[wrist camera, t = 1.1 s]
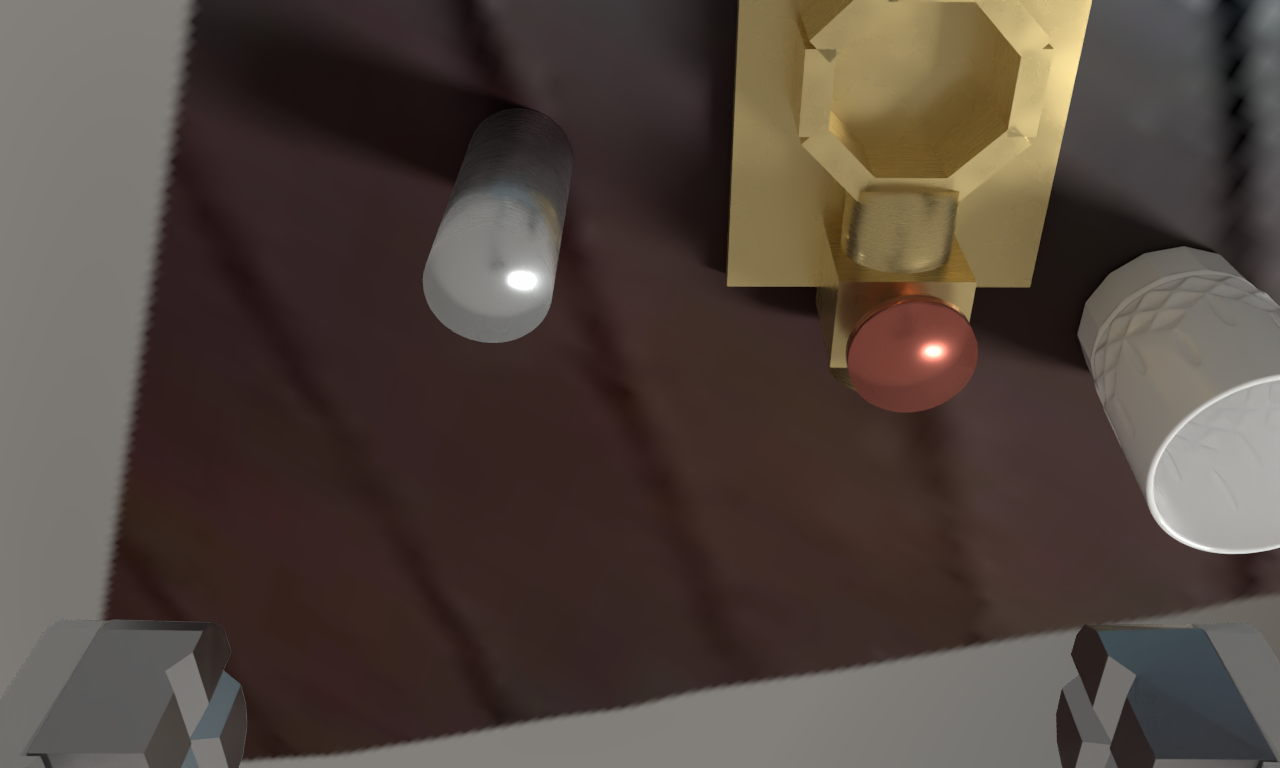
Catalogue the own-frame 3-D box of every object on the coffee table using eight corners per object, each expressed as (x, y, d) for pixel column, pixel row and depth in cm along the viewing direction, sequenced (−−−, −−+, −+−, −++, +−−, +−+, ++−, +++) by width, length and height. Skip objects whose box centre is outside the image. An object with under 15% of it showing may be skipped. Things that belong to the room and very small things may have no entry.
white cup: (1214, 194, 44) (1342, 331, 35) (1290, 331, 47) (1423, 485, 39) (1028, 302, 47) (1107, 453, 38) (1112, 425, 50) (1202, 586, 42)
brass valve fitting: (742, -125, 37) (759, -69, 31) (1107, -126, 37) (1201, -70, 31) (723, 326, 47) (733, 440, 41) (1012, 328, 47) (1067, 442, 41)
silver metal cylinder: (463, 107, 42) (415, 229, 34) (571, 107, 42) (549, 230, 34) (473, 206, 44) (430, 342, 36) (575, 206, 44) (555, 342, 36)
